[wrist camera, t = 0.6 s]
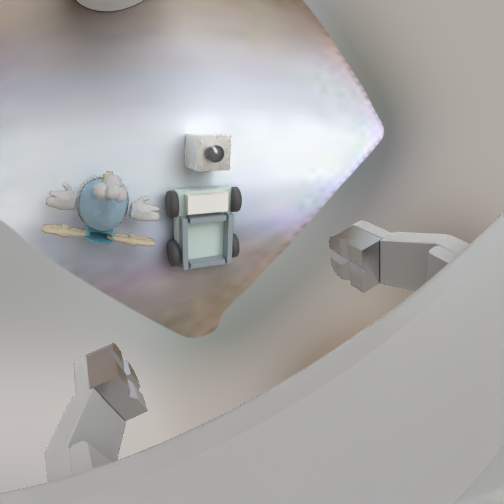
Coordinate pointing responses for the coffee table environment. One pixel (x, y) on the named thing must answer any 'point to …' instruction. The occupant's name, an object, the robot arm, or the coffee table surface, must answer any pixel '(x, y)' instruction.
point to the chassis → (203, 226)
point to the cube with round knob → (207, 152)
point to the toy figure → (101, 211)
